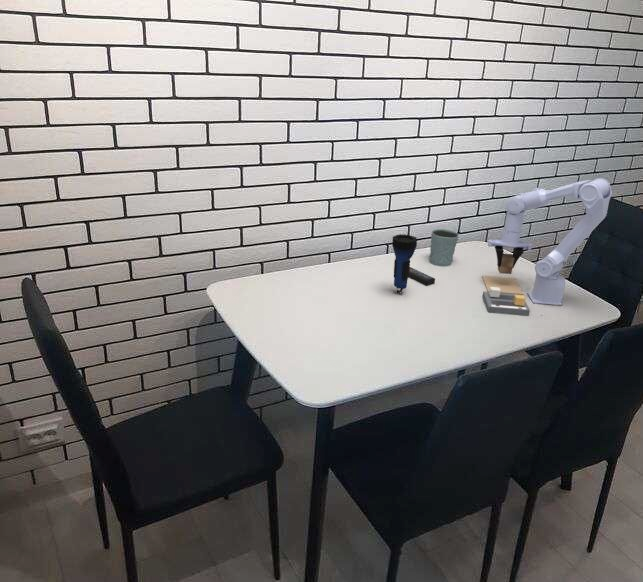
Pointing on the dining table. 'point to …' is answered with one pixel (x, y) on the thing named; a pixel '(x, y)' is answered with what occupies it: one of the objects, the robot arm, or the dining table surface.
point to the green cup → (442, 247)
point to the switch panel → (504, 304)
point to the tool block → (506, 264)
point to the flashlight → (402, 258)
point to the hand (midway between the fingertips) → (505, 266)
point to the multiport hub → (421, 277)
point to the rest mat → (502, 284)
